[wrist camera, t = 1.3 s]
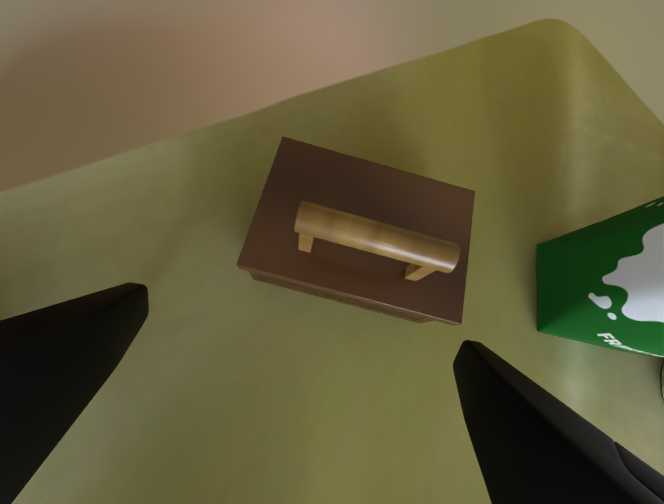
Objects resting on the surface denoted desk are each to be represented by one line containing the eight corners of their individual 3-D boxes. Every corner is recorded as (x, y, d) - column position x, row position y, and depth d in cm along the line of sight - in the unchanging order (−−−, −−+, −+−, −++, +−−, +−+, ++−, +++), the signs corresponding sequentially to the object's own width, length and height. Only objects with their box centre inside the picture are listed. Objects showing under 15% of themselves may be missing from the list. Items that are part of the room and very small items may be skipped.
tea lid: (454, 325, 17) (519, 317, 12) (238, 268, 17) (215, 235, 12) (468, 197, 20) (526, 147, 15) (282, 144, 19) (279, 74, 14)
